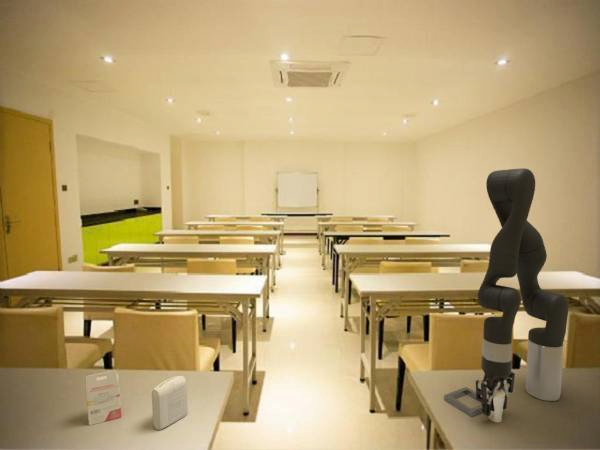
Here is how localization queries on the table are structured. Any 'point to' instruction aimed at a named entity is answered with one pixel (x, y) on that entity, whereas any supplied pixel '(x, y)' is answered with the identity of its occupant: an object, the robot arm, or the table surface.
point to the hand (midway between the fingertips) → (494, 410)
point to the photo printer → (169, 402)
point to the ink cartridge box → (103, 397)
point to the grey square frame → (452, 400)
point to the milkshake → (497, 406)
